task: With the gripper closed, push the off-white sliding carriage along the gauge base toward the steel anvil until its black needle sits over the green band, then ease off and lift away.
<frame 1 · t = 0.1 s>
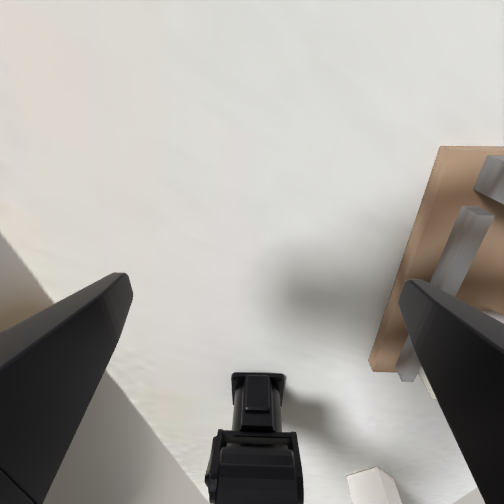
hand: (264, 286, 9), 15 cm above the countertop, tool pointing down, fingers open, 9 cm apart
milk: (369, 475, 49), on the countertop
gauge base: (470, 279, 26), on the countertop
carriage: (490, 352, 26), point 4 cm above the countertop, slide at 0.0 cm
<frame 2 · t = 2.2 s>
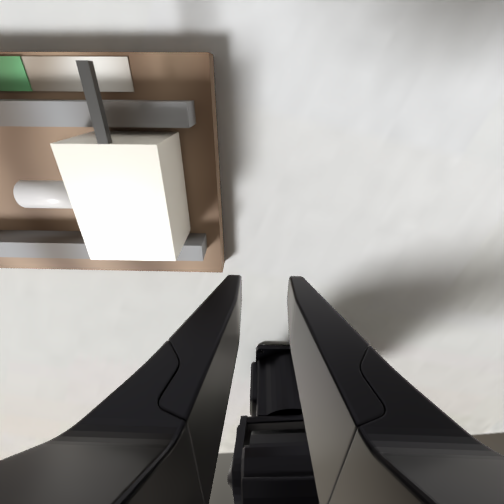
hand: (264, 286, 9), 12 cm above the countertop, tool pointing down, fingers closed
gauge base: (50, 175, 20), on the countertop
carriage: (92, 167, 15), point 4 cm above the countertop, slide at 0.0 cm
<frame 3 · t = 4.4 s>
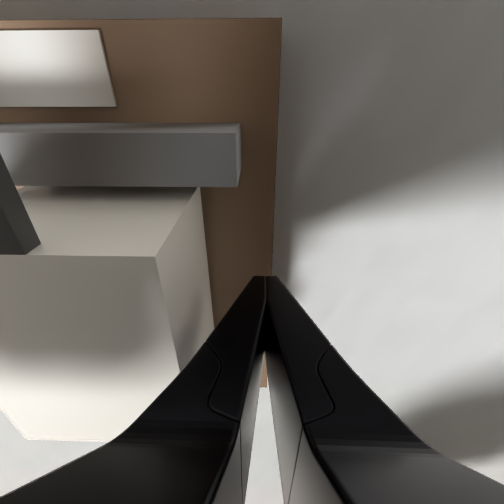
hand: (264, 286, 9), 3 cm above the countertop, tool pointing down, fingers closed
carriage: (22, 265, 7), point 4 cm above the countertop, slide at 0.2 cm, touching gripper
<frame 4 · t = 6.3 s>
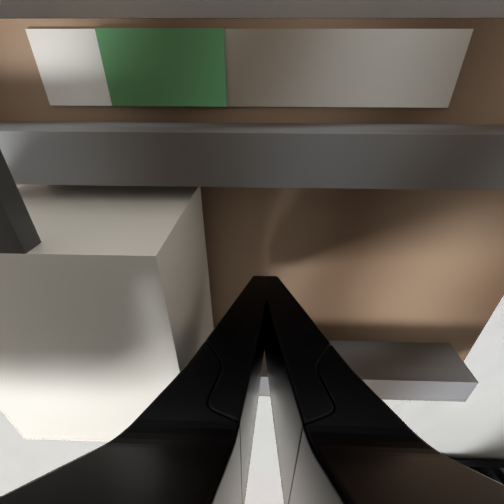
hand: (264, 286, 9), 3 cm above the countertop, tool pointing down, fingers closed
gauge base: (187, 246, 11), on the countertop
carriage: (21, 264, 7), point 4 cm above the countertop, slide at 8.9 cm, touching gripper
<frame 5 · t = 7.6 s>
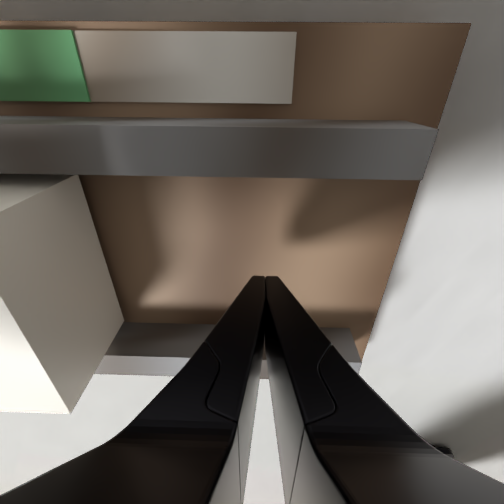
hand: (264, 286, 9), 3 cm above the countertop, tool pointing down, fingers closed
gauge base: (99, 235, 12), on the countertop
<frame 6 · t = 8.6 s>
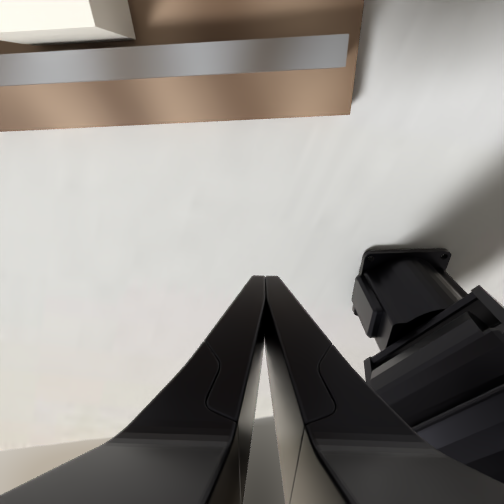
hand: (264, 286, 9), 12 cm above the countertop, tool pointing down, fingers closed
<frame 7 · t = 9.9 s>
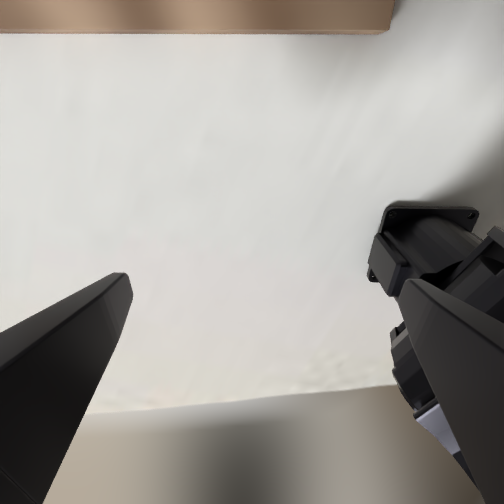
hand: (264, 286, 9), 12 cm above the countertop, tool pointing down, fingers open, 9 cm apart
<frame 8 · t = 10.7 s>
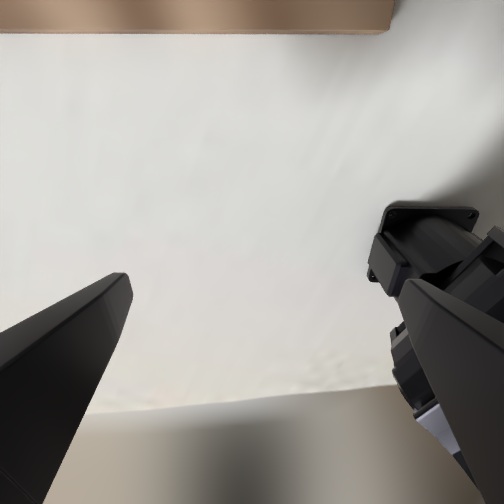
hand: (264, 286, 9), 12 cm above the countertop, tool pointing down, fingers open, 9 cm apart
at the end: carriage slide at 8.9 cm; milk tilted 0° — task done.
